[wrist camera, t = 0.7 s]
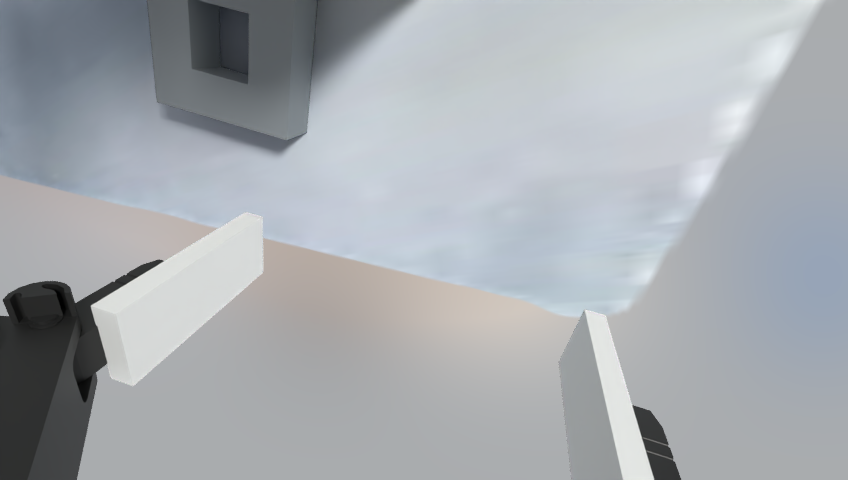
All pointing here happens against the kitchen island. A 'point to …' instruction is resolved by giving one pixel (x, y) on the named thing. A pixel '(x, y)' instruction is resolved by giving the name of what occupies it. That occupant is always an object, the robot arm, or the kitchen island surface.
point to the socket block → (230, 90)
